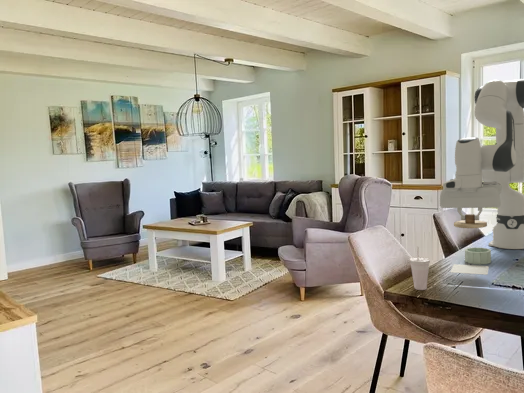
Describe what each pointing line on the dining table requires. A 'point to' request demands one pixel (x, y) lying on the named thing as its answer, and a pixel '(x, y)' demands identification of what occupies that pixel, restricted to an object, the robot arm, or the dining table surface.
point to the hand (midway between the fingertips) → (470, 219)
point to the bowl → (478, 255)
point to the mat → (470, 269)
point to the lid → (470, 222)
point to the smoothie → (420, 271)
